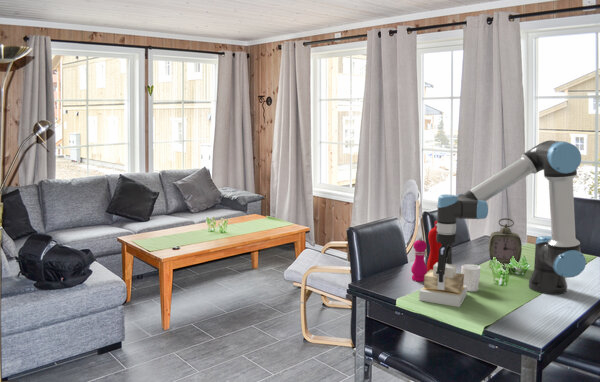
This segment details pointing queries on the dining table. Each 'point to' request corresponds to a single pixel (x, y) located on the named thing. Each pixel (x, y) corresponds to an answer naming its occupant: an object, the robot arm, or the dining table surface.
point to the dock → (443, 296)
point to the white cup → (471, 276)
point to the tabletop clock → (505, 244)
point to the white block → (446, 270)
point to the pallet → (450, 283)
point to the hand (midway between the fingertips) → (443, 285)
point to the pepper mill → (419, 260)
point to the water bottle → (433, 248)
